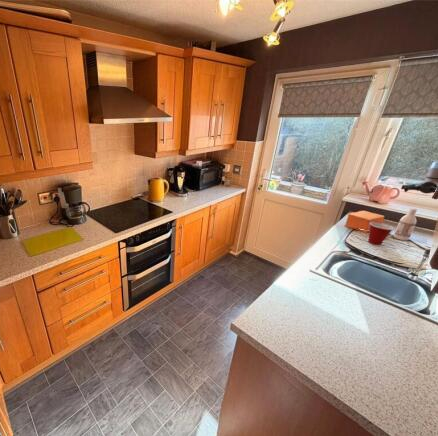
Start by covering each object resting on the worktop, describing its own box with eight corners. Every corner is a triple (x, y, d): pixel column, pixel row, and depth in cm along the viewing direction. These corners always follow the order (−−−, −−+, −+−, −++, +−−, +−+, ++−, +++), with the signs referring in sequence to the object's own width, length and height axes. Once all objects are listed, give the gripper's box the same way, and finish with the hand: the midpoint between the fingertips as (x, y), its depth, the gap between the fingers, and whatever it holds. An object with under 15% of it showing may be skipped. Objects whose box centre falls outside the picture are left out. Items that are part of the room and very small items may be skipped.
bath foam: (403, 241, 144) (416, 211, 137) (390, 236, 151) (402, 207, 143) (411, 240, 146) (425, 210, 138) (398, 235, 152) (410, 206, 145)
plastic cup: (392, 246, 138) (399, 228, 134) (377, 247, 137) (384, 229, 132) (372, 238, 148) (379, 221, 144) (358, 239, 147) (364, 222, 142)
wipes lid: (369, 220, 153) (369, 219, 153) (348, 214, 164) (348, 213, 164) (384, 217, 159) (385, 216, 159) (363, 211, 170) (363, 210, 170)
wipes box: (365, 232, 157) (369, 220, 153) (345, 225, 168) (348, 214, 164) (380, 228, 162) (384, 217, 159) (359, 222, 173) (363, 211, 170)
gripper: (456, 196, 142) (451, 202, 131) (399, 188, 162) (391, 193, 151) (462, 184, 140) (457, 190, 129) (403, 178, 159) (395, 182, 148)
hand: (422, 192), depth 140 cm, fingers open, 13 cm apart
